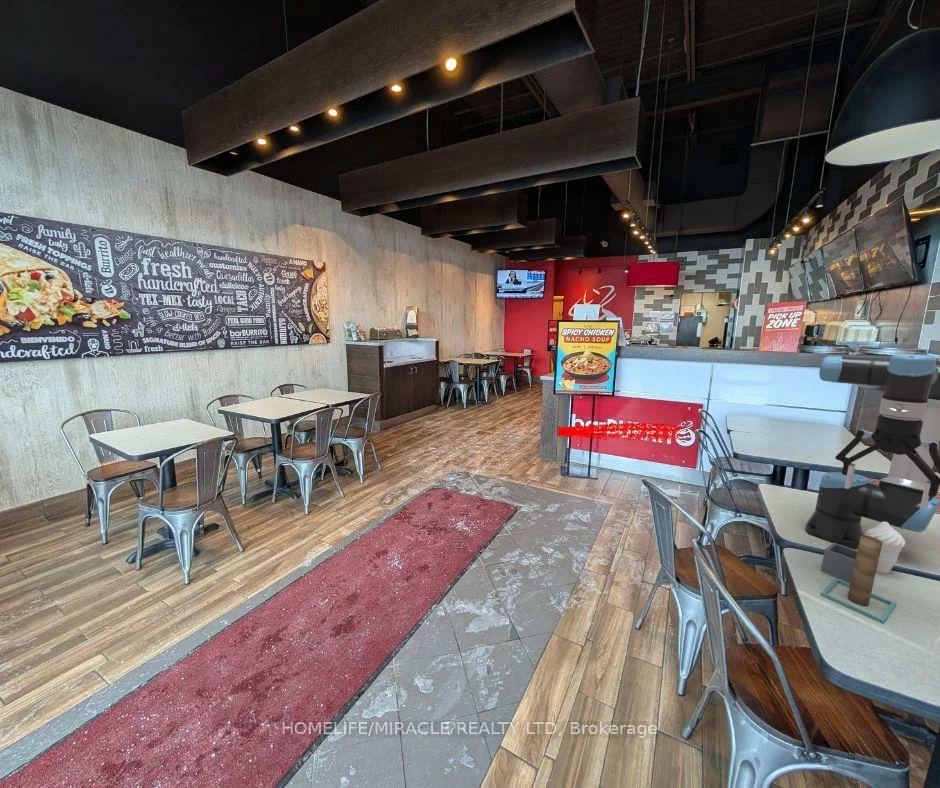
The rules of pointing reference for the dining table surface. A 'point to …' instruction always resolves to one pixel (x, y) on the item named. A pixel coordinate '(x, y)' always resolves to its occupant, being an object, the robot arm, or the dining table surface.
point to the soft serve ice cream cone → (887, 545)
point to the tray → (878, 619)
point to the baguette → (864, 570)
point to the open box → (839, 561)
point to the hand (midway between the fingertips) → (883, 496)
